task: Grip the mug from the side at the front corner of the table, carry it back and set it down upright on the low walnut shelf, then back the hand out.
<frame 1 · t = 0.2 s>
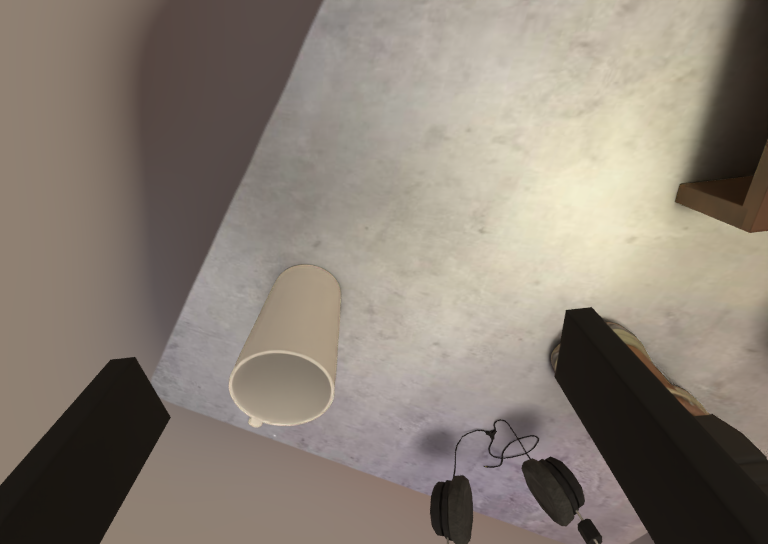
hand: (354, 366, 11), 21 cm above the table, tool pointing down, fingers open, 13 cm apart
headphones: (482, 439, 46), on the table
boat shoe: (626, 396, 43), on the table
mug: (300, 304, 35), on the table
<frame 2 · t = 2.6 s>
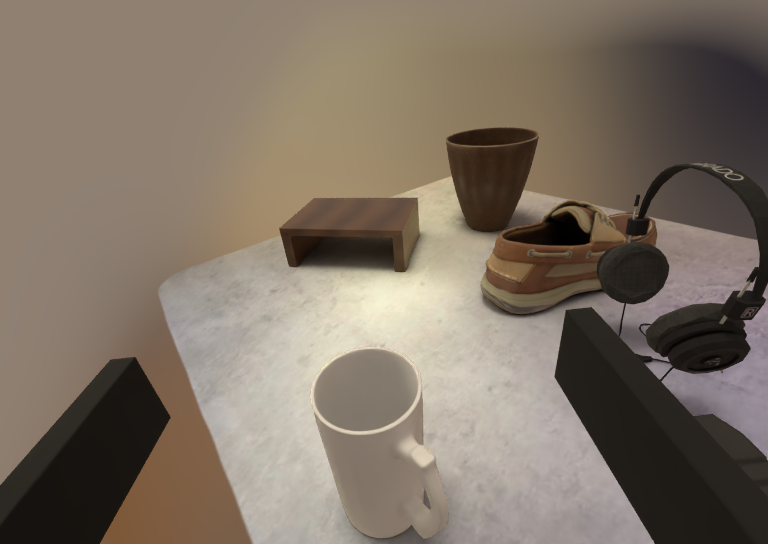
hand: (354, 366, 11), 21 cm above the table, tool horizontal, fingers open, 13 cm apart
flower pot: (486, 224, 69), on the table
headphones: (661, 370, 36), on the table
boat shoe: (573, 277, 51), on the table
walnut shelf: (357, 249, 65), on the table
mug: (397, 512, 27), on the table
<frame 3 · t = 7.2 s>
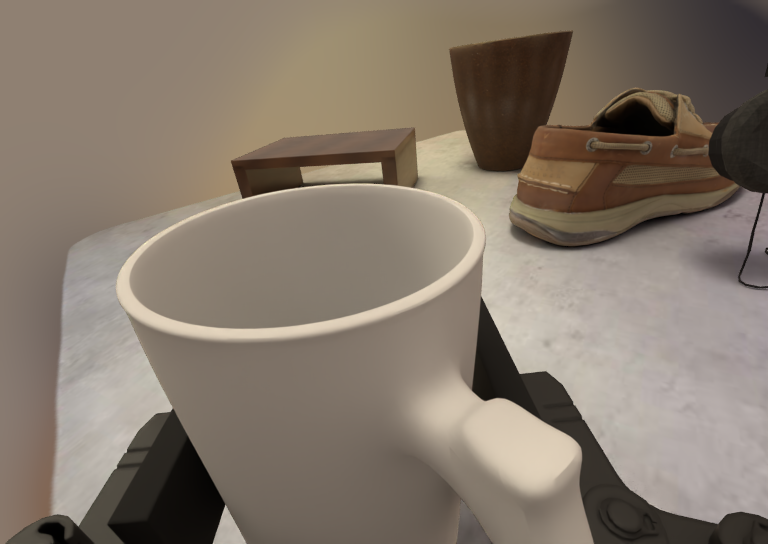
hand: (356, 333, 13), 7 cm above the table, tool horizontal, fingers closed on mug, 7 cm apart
flower pot: (502, 166, 55), on the table
boat shoe: (635, 206, 37), on the table
walnut shelf: (338, 195, 50), on the table
when the fingers open (14 cm above the table, at t = 19.2 s): mug stays where it is, resting on walnut shelf.
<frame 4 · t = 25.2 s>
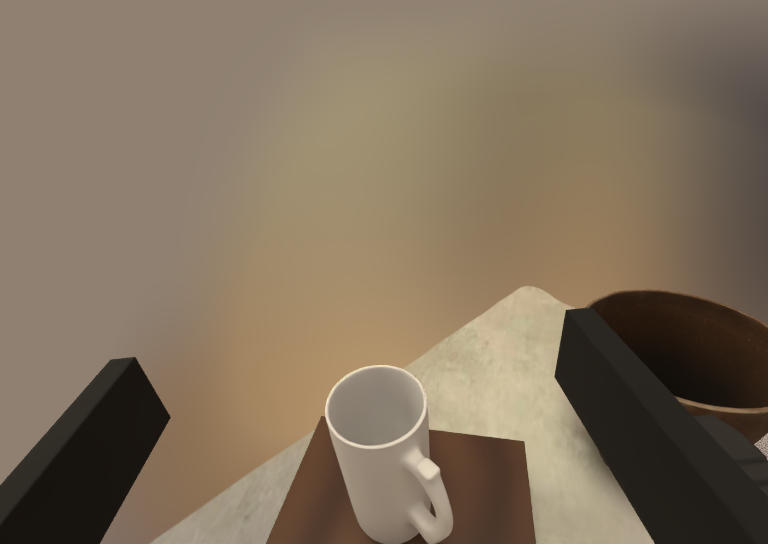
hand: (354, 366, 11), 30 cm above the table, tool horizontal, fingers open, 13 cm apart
flower pot: (635, 457, 38), on the table
walnut shelf: (409, 543, 33), on the table
mug: (405, 520, 29), point 7 cm above the table, touching walnut shelf
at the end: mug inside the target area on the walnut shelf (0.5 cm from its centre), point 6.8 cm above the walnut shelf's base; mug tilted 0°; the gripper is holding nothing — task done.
